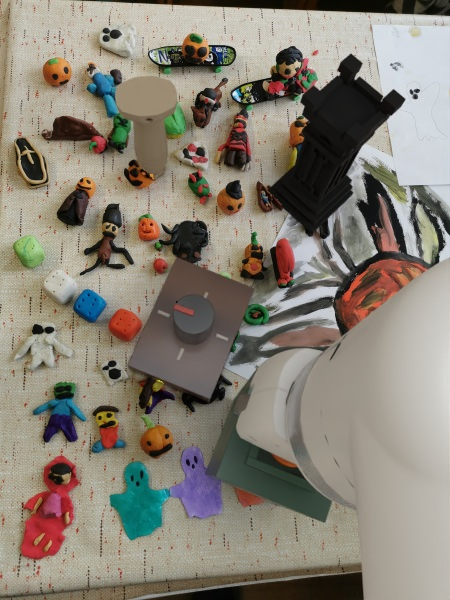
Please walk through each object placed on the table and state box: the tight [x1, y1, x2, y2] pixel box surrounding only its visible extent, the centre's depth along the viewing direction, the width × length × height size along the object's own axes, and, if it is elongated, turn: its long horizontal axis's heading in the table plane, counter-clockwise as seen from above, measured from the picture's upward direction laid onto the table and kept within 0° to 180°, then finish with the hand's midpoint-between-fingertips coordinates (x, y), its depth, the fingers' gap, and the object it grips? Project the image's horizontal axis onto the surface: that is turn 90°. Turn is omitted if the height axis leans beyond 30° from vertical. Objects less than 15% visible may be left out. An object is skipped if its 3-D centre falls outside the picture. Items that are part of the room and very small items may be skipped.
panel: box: [127, 257, 255, 403], centre depth 65 cm, size 14×10×3 cm
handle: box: [114, 75, 178, 180], centre depth 65 cm, size 5×6×15 cm
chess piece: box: [267, 53, 407, 235], centre depth 64 cm, size 8×8×20 cm
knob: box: [173, 294, 214, 344], centre depth 61 cm, size 4×4×5 cm
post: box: [204, 368, 333, 524], centre depth 53 cm, size 9×9×22 cm
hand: (294, 440), depth 42 cm, fingers closed
